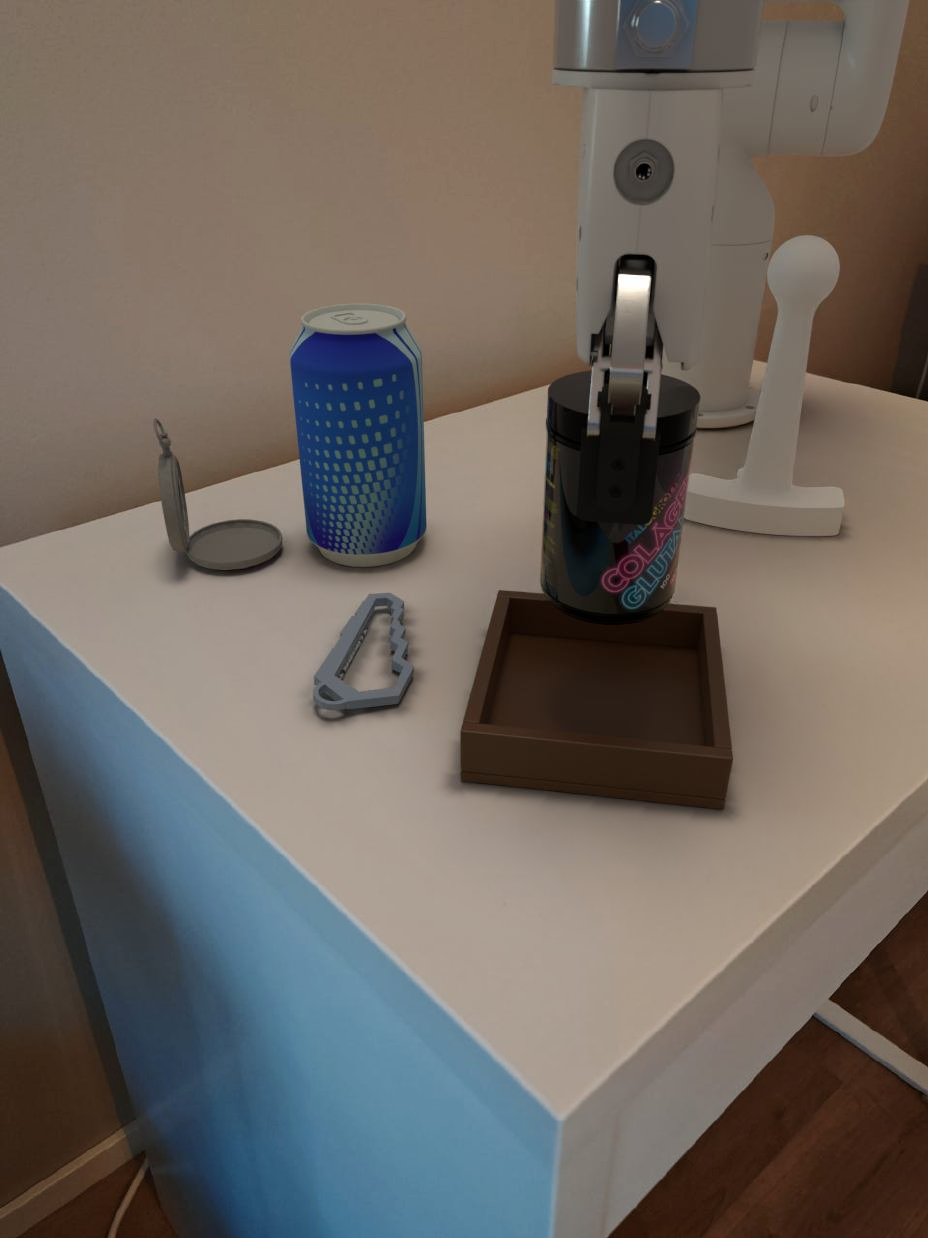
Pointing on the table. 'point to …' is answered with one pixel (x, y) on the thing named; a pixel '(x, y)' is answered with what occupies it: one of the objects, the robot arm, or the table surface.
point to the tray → (600, 705)
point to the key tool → (344, 654)
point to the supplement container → (612, 552)
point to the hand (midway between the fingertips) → (616, 482)
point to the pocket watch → (215, 542)
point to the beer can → (360, 432)
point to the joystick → (779, 414)
